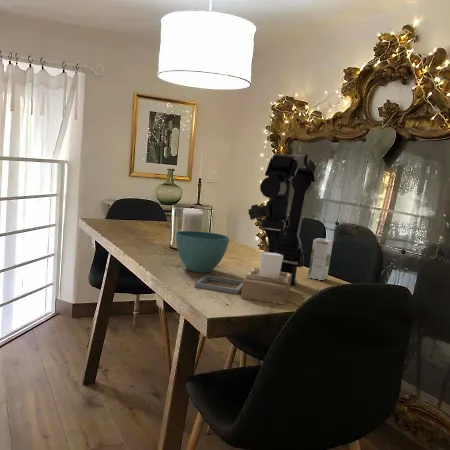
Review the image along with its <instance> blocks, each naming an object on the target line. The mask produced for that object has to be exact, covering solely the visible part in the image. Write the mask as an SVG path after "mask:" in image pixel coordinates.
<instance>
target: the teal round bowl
mask: <svg viewBox="0 0 450 450" xmlns="http://www.w3.org/2000/svg"><path fill="white" fill-rule="evenodd" d="M229 242H230V237H229V236H227V235H225V234H220V233H215V232H207V231H198V230H197V231H196V230H195V231H194V230H180V231H176V232H175V244H176V249H177V252H178V255H179V258H180V260H181V262H182V264H183V265H184V267H185V268H186V269H187V270H188V271H191V272H194V273H203V274H205V273H211V272H212V271H213V270H214V269H215V268H216V267H218V265H219V264H220V263H221V261H222V260H223V258H224V255H225V254H226V251H227V248H228V246H229Z"/></svg>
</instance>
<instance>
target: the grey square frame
mask: <svg viewBox="0 0 450 450" xmlns="http://www.w3.org/2000/svg"><path fill="white" fill-rule="evenodd" d="M207 281H214V282H220V283H227V284H233V285H238V286H237V287H236V288H232V287H227V286H221V285H216V284H209V283H206V282H207ZM242 285H243V280H241V279H236V278H235V279H233V278H228V277H221V276H215V275H209V274H205V275H204V276H203V277H201V278H199V279H198V280H197V281H195V283H194V287H195V288H197V289H198V288H199V289H205V290H211V291H217V292H224V293H230V294H234V295H238V294H240V293H241V292H242Z"/></svg>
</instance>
